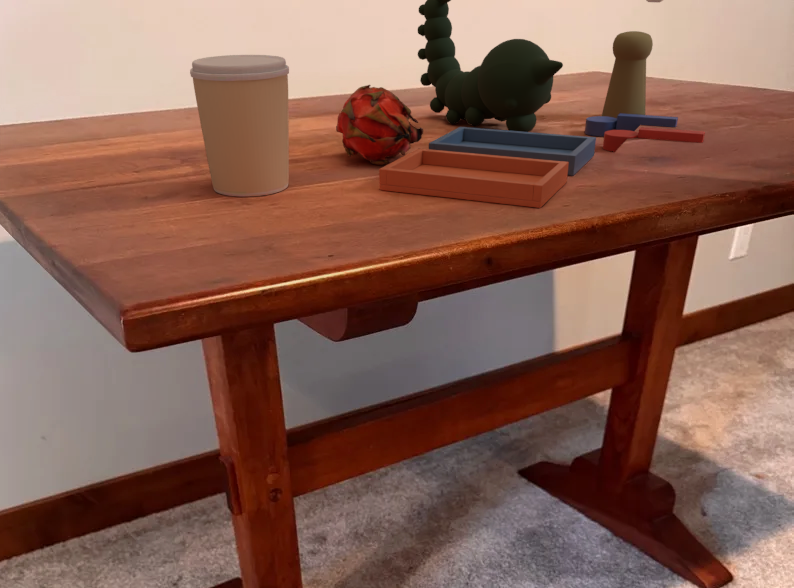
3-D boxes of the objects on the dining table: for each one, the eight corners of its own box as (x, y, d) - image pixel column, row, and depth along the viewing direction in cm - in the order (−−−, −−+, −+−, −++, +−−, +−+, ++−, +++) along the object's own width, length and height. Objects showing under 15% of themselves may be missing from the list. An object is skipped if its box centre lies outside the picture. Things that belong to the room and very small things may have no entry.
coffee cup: (308, 177, 85) (301, 54, 79) (278, 201, 77) (267, 67, 71) (226, 173, 87) (213, 53, 81) (189, 196, 79) (171, 65, 73)
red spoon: (702, 151, 94) (706, 129, 92) (698, 158, 91) (702, 136, 89) (606, 144, 98) (608, 122, 97) (599, 150, 95) (602, 128, 93)
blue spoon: (676, 136, 101) (679, 115, 100) (671, 142, 98) (675, 121, 97) (588, 129, 106) (590, 109, 104) (581, 135, 102) (583, 114, 101)
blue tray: (594, 155, 92) (596, 137, 91) (573, 175, 84) (575, 155, 83) (459, 144, 98) (459, 126, 97) (428, 162, 90) (428, 142, 89)
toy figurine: (406, 130, 114) (533, 142, 96) (398, -19, 106) (535, -37, 88) (456, 122, 119) (585, 132, 101) (452, -22, 111) (593, -39, 92)
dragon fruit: (356, 160, 98) (407, 197, 90) (305, 125, 92) (355, 161, 84) (395, 99, 96) (450, 131, 88) (346, 59, 90) (401, 89, 82)
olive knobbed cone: (623, 123, 109) (635, 34, 103) (592, 116, 113) (601, 31, 108) (654, 118, 111) (667, 32, 106) (622, 112, 116) (633, 28, 110)
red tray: (566, 182, 82) (568, 161, 81) (540, 208, 74) (542, 185, 73) (418, 167, 88) (418, 148, 87) (379, 190, 80) (379, 168, 79)
